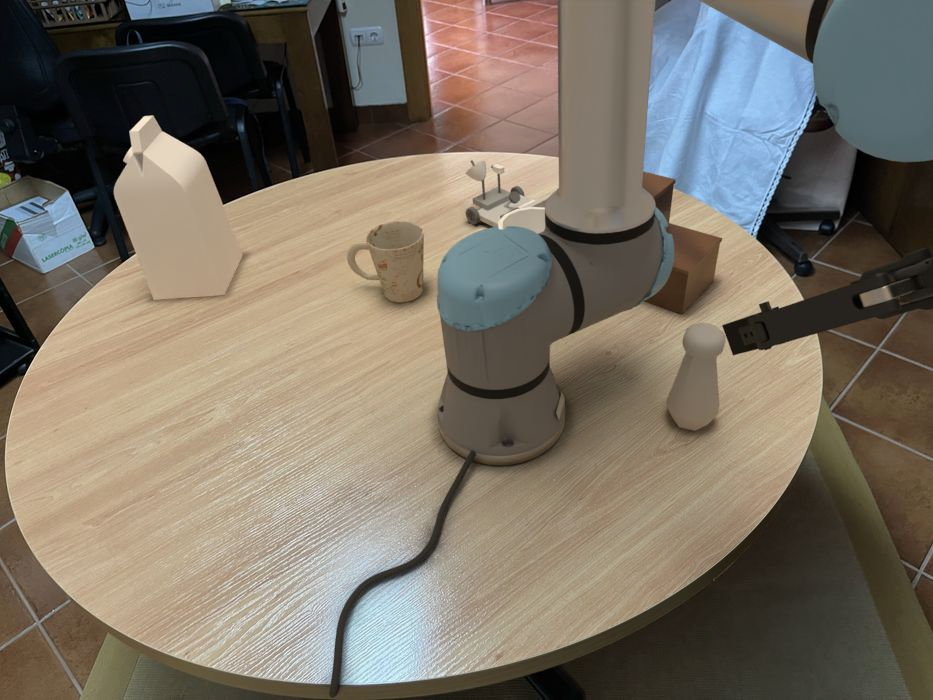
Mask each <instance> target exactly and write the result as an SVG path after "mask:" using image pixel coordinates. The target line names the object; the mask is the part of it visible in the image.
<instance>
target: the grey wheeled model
mask: <svg viewBox="0 0 933 700" xmlns="http://www.w3.org/2000/svg"><path fill="white" fill-rule="evenodd" d="M470 163H471V165H472V166H471V167H470V168H469V169H467V170H466V172H465V175H466V176H468V177H469V178H470V179H472V180H474V181H476V182H481V188H482V193H481V194H479V195H476V196H475V197H472V204H473V205H475V206H477V207H479V208H480V209H478V210H477V208H476V207H473V206H469V207H468V208H467V209H466V210H465V217H466V219H467V221H468V223H470V224H471V225H474V226H475V225H477V224H479V223H480V222H483V223H484V224H487V225H489V226H491V227H492V228H493V227H498V221H499V220H500V219H501V218H502V217H503V216H504V215H505V214H507V213H509V212H511V211H514V210H516V209H521V208H527V207H543V208H545V203H546V201H547V199H548V198H549V196H550V195H552V194H553V193H554V192H555V191H556V190H554V191H552V192H550V193H548V194H546V195H544V196H541V197H540V198H538V199H535V198H534V199H532V198H529V197H527V196H525V192H524V189H522V187H521V186H519V185H514V186H513V187H511V189H510V191H507V190H505V189H503V188H502V187H501V175H502V174H505V166H502V165H500V164H498V163H495V164H492V165H491V166H490V169H492V172H493V173H496V174H497V186H496V187H494V188H492V189H490V190H487V191H486V188H485V179H486V177H487V164H486V161H485V160H482V161H479V162H477V163H475V162H474V161H473V160H472V159H471V160H470Z"/></svg>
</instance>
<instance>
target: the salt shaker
mask: <svg viewBox="0 0 933 700" xmlns="http://www.w3.org/2000/svg"><path fill="white" fill-rule="evenodd" d="M681 341H682V343H681V344H682V347H683V350H684V351H685V353H684V355H683V358H682V360H681V363H680V365H679V367H678V371H677V373H676V375H675V379H674V381H673V384H672V386H671V388H670V390H669V392H668V395H667V398H666V406H667V409H668V412H669V414H670V417H671V418H672V420H673V422H674V423H675V424H676V425H677V427H678V428H681V429H685V430H689V431H693V432H696V431H698V430H700V429H703V428H705V427H707V426H709V424H710V423H711V422H712V421H713V420H714V419H715V418H716V417H717V415H718V413H719V409H720V396H719V395H720V393H719V377H718V364H717V363H718V362H717V361H718V360H717V358H718V357H719V356H720V355H722V353H723V351H724V348H725V345H726V335H725V332H724V330H722V329H720V328H719V327H718V326H717V325H714V324H711V323H708V322H698V323H694V324H692V325H690V326H689V327H687V328H686V329H685V332H684V334H683V337H682V340H681Z"/></svg>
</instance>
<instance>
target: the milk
mask: <svg viewBox="0 0 933 700" xmlns="http://www.w3.org/2000/svg"><path fill="white" fill-rule="evenodd" d="M129 139H130V145H131V146H130V148H129V149H128V151H126V154H125V156H124V158H123V159H122V161H123V162H124V163H125V164H126V165H125V167H124V168H123V169H122V171H121V173H120V175H119V176H118V178H117V180H116V182H115V183H114V187H113V196H114V200H115V203H116V205H117V207H118V210H119V212H120V215H121V218H122V221H123V223H124V226H125V229H126V231H127V233H128V237H129V239H130V241H131V244H132V247H133V249H134V252H135V255H136V257H137V260H138V263H139V266H140V268H141V271H142V273H143V275H144V279H145V280H146V283H147V286H148V288H149V289H148V290H149V292H150V294H151V296H152V299H153V301H157V300H159V301H160V300H172V299H173V300H174V299H189V298H201V297H217V296H225V295H226V293H227V291H228V289H229V287H230V285H231V282H232V280H233V278H234V276H235V274H236V272H237V269H238V267H239V265H240V263H241V261H242V259H243V257H244V254H243V252H242V250H241V246H240V244H239V242H238V239H237V237H236V234H235V232H234V229H233V226H232V224H231V222H230V219H229V216H228V214H227V211H226V209H225V206H224V203H223V201H222V198H221V196H220V194H219V191H218V188H217V186H216V184H215V181H214V178H213V176H212V173H211V171H210V168H209V166H208V164H207V161H206V159H205V157H204V156H203V155H202V154H201V153H200V152H199V151H198V150H196V149H194V147H191V146H189V145H188V144H186V143H184V142H182V141H180V140H179V139H177V138H175V137H174V136H171V135H170V134H168V133H166V132H165V131H163V130H162V128H161V126H160V125H159V123H158V121H157V120H156V118H155V116H154V115H144V116H142V118H141V119H140V120H139V121H138V122H137V123H136V124H135V125H134V126H133V127H132V128H131V129H130V130H129Z"/></svg>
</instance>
